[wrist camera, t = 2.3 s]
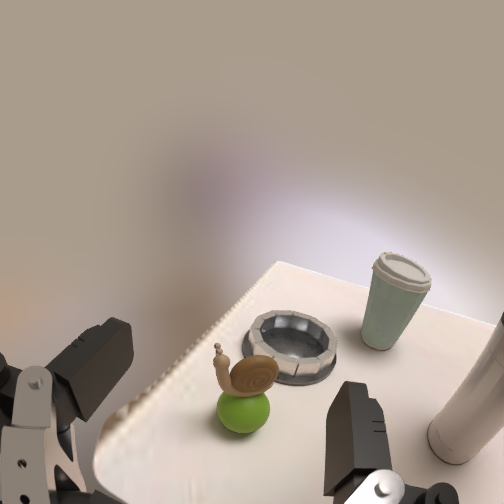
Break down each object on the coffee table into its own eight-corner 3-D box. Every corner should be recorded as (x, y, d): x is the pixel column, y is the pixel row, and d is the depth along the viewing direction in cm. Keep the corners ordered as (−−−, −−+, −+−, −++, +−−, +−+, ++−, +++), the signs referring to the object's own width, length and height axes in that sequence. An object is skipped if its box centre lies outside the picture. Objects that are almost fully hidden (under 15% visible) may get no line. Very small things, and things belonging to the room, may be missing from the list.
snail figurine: (201, 407, 28) (208, 325, 23) (254, 401, 30) (276, 321, 26) (212, 446, 23) (223, 370, 19) (271, 436, 25) (302, 360, 21)
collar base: (314, 323, 48) (319, 308, 46) (349, 379, 35) (358, 362, 34) (235, 323, 44) (238, 306, 43) (253, 389, 32) (258, 371, 30)
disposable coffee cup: (409, 343, 44) (441, 271, 39) (386, 368, 38) (426, 284, 32) (366, 317, 52) (391, 247, 46) (337, 335, 45) (365, 254, 40)
